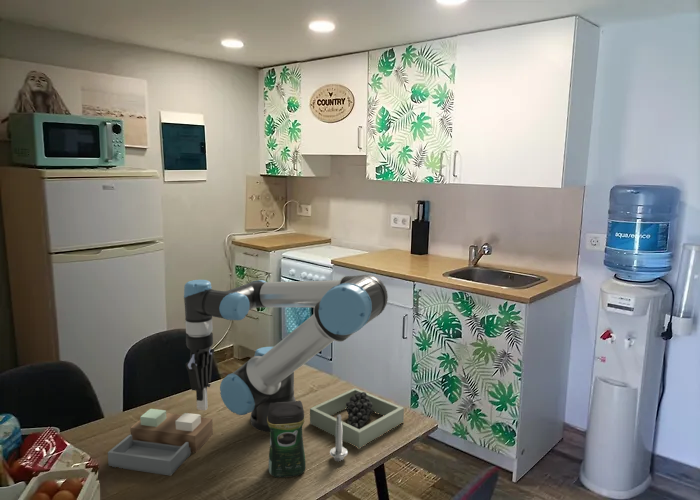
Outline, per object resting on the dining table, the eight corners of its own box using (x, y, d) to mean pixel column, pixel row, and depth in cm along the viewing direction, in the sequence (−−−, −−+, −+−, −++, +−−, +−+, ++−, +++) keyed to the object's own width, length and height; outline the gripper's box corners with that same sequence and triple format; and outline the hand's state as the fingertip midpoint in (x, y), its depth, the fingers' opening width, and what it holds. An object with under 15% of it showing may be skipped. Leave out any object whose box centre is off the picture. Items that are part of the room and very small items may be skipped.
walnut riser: (212, 434, 151) (212, 418, 150) (195, 452, 141) (195, 436, 140) (151, 426, 155) (150, 411, 154) (131, 443, 145) (130, 427, 145)
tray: (190, 454, 140) (190, 440, 140) (170, 475, 131) (170, 461, 130) (132, 446, 144) (131, 433, 144) (108, 466, 135) (107, 452, 134)
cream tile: (201, 422, 148) (200, 414, 147) (192, 431, 143) (191, 423, 142) (185, 420, 149) (184, 412, 148) (175, 429, 144) (175, 421, 143)
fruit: (361, 408, 149) (369, 385, 163) (334, 414, 151) (345, 390, 165) (370, 435, 150) (377, 410, 164) (344, 440, 152) (353, 415, 166)
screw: (345, 453, 142) (349, 462, 137) (328, 454, 141) (331, 464, 136) (346, 409, 140) (349, 417, 135) (328, 410, 139) (331, 419, 134)
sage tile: (166, 418, 150) (166, 410, 149) (156, 426, 145) (156, 418, 145) (151, 416, 151) (150, 408, 150) (140, 424, 146) (140, 416, 146)
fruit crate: (403, 422, 159) (403, 407, 158) (359, 449, 144) (359, 432, 143) (354, 401, 172) (355, 387, 171) (310, 423, 158) (309, 408, 157)
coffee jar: (304, 459, 138) (303, 395, 135) (306, 477, 131) (306, 409, 128) (268, 462, 137) (266, 397, 134) (268, 480, 129) (266, 412, 126)
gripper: (198, 325, 157) (201, 397, 160) (175, 339, 144) (179, 417, 148) (221, 327, 155) (223, 400, 159) (200, 341, 142) (203, 420, 146)
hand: (202, 408), depth 153 cm, fingers closed
